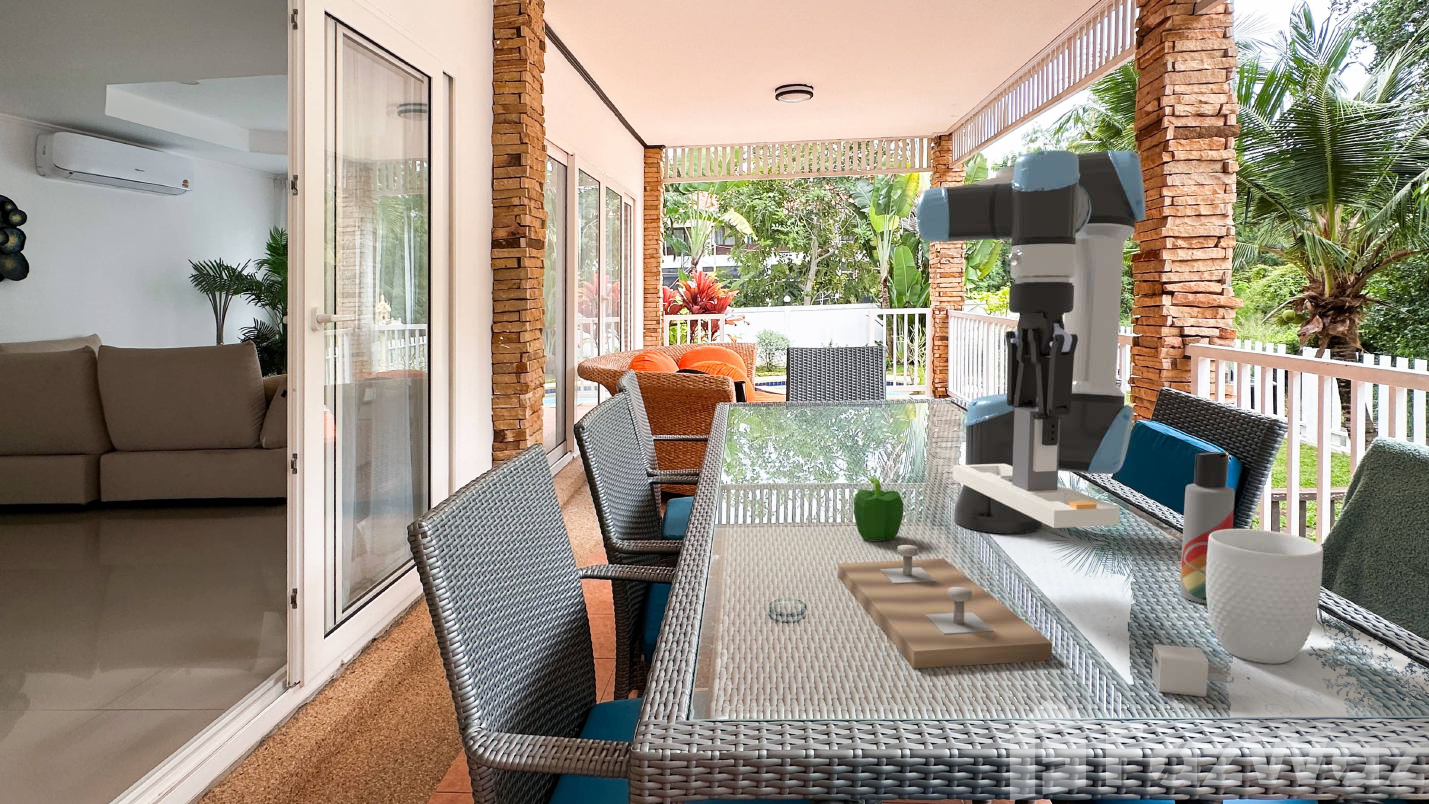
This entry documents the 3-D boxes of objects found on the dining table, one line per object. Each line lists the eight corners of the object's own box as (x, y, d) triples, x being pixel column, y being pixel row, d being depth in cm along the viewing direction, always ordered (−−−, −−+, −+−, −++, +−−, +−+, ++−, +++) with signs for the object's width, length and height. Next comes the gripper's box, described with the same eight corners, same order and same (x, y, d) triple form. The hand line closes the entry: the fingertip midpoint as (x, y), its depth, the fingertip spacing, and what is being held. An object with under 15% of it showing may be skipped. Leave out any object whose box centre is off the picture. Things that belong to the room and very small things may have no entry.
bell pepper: (903, 546, 143) (904, 486, 142) (852, 543, 144) (852, 484, 143) (902, 532, 151) (903, 475, 150) (854, 530, 153) (855, 474, 151)
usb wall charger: (1151, 677, 93) (1153, 641, 93) (1224, 685, 91) (1227, 649, 91) (1159, 694, 89) (1161, 656, 89) (1235, 702, 87) (1237, 664, 87)
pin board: (837, 576, 128) (838, 536, 127) (943, 571, 129) (944, 532, 129) (913, 668, 96) (914, 615, 95) (1051, 659, 98) (1053, 608, 97)
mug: (1260, 622, 108) (1267, 519, 107) (1357, 654, 99) (1367, 542, 97) (1180, 644, 102) (1186, 535, 100) (1275, 681, 92) (1284, 560, 91)
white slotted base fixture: (952, 479, 126) (954, 396, 125) (1004, 477, 127) (1007, 395, 126) (1053, 527, 99) (1057, 422, 97) (1119, 524, 100) (1124, 421, 99)
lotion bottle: (1210, 608, 113) (1219, 456, 111) (1170, 595, 118) (1178, 449, 116) (1237, 600, 116) (1247, 452, 114) (1196, 588, 121) (1205, 446, 119)
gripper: (982, 282, 116) (977, 456, 119) (1049, 279, 99) (1041, 481, 102) (1035, 282, 117) (1029, 454, 120) (1110, 279, 100) (1101, 479, 103)
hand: (1034, 466), depth 111 cm, fingers closed on white slotted base fixture, 4 cm apart
